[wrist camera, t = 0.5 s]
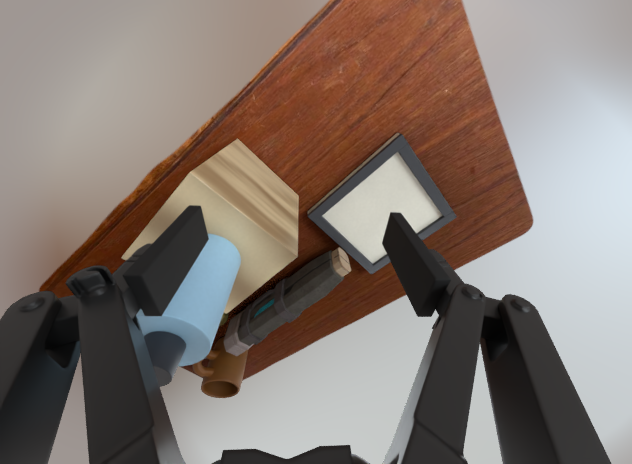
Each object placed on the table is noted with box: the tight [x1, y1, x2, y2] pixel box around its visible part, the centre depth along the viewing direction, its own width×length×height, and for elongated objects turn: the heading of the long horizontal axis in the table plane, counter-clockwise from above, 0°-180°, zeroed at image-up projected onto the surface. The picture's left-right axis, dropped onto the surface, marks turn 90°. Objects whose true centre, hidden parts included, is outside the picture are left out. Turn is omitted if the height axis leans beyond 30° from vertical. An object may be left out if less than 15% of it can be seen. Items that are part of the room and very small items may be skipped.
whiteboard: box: [307, 133, 457, 274], centre depth 38 cm, size 18×18×2 cm
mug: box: [193, 337, 248, 398], centre depth 50 cm, size 13×8×10 cm, turn 27°
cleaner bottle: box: [136, 234, 241, 387], centre depth 17 cm, size 6×6×11 cm
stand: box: [121, 139, 299, 314], centre depth 29 cm, size 12×12×16 cm
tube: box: [224, 247, 351, 356], centre depth 43 cm, size 11×7×30 cm
